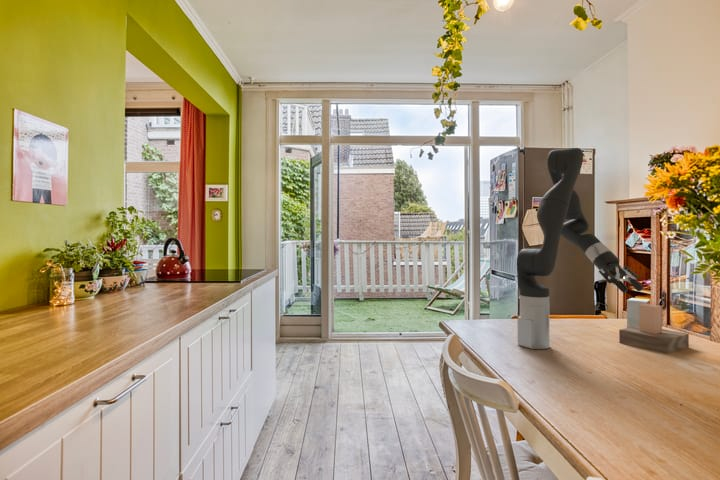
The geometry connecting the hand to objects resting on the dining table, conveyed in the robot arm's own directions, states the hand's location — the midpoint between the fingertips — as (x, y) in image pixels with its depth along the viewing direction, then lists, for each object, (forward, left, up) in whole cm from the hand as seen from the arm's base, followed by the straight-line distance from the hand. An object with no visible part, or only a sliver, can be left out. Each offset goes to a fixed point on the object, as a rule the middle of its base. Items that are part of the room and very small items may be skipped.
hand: (633, 290), depth 130 cm
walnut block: (+1, -6, -19) cm, 19 cm away
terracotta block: (0, -5, -13) cm, 15 cm away
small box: (+13, +6, -18) cm, 23 cm away
